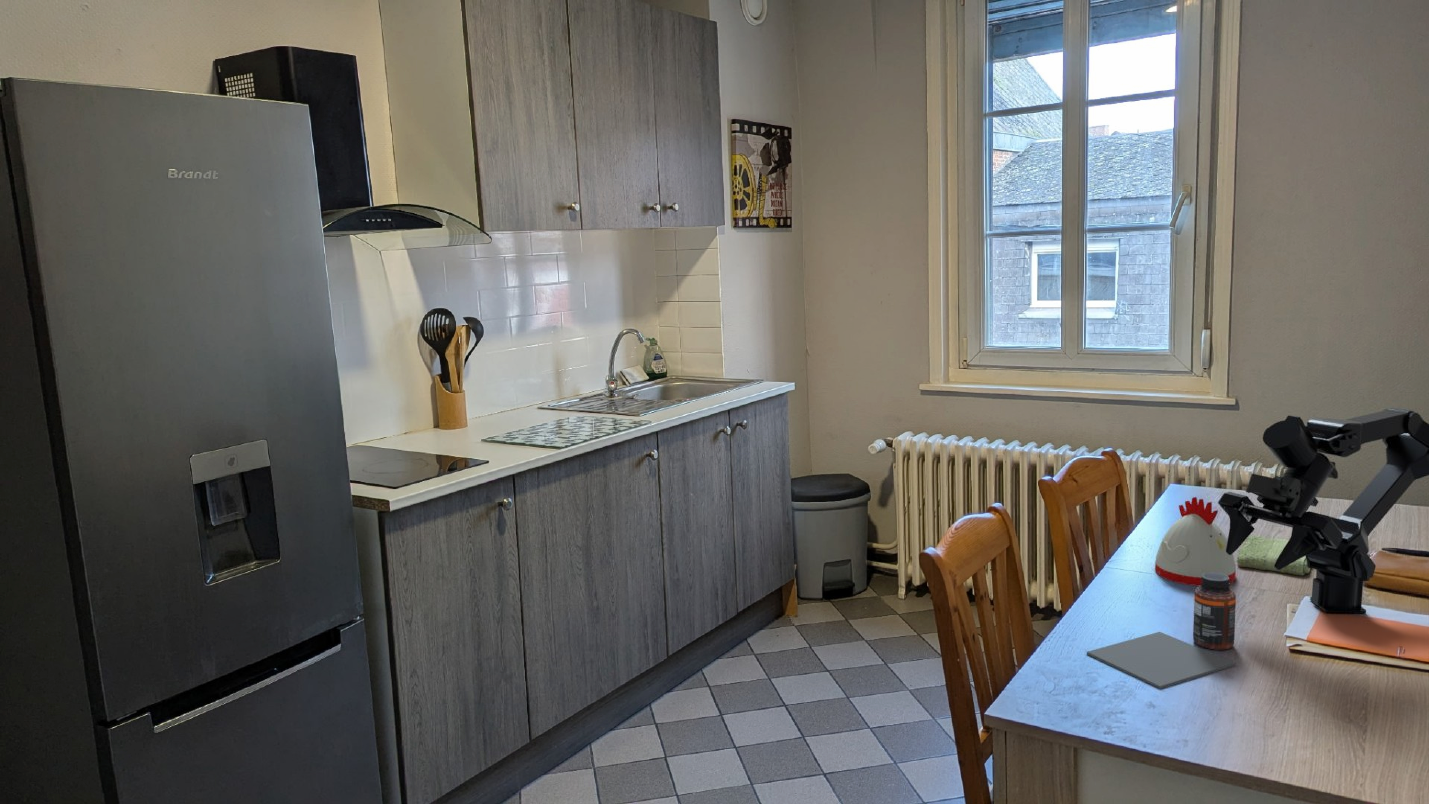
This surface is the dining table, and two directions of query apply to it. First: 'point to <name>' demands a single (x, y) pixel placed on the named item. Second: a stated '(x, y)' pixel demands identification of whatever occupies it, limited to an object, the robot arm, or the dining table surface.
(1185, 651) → the mat
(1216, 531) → the kitchen timer
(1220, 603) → the supplement bottle
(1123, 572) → the dining table surface
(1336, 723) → the dining table surface
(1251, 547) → the washcloth
